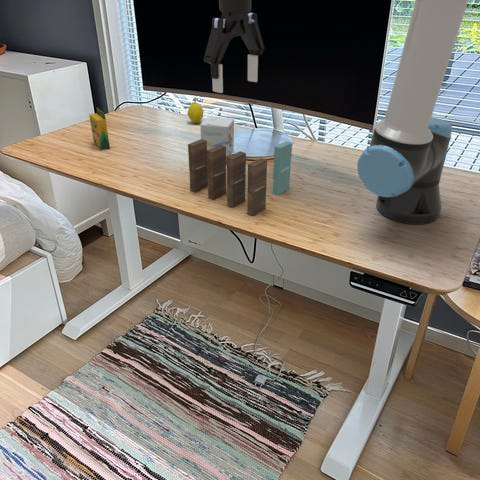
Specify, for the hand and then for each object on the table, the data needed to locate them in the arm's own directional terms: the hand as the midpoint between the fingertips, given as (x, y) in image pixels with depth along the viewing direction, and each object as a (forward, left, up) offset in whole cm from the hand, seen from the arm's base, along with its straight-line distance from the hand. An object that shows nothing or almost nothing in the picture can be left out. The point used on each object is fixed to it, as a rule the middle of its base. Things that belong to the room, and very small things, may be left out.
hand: (235, 86), depth 123 cm
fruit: (+41, -26, -25) cm, 55 cm away
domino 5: (-15, -1, -25) cm, 29 cm away
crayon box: (+48, +10, -25) cm, 55 cm away
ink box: (+13, -7, -25) cm, 29 cm away
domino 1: (+3, +12, -25) cm, 28 cm away
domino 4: (-17, +12, -25) cm, 33 cm away
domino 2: (-4, +12, -25) cm, 28 cm away
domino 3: (-10, +12, -25) cm, 30 cm away
